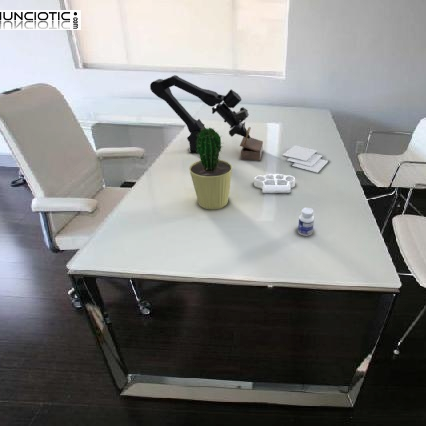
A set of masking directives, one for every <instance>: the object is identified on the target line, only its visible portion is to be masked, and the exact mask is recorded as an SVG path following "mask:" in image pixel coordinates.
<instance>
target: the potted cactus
mask: <svg viewBox="0 0 426 426" xmlns="http://www.w3.org/2000/svg"><path fill="white" fill-rule="evenodd" d="M204 127H205V129H204V128H202V129H203V130H202V131H201V133H198V134H199V136H198V140H197V143H196V144H197V147H196V148H197V151H198V153H197V152H196V153H195V154H196V155H197V154H198V155H199V158H200V160H198V161H197V160H196V161H195V162H193V163H191V164H190V166H189V169H188V170H189V173H190V174H189V175H190V177H191V181H192V185H193V188H194V191H195V195H196V198H197V203H198V204H199V206H200V208H203V209H206V210H218V209H219V210H220V209H222V208H224V207H225V206H227V204H228V202H229V196H230V187H231V180H232V172H233V165H232V164H231V163H229V162H228V161H225V160H222V159H220V158H221V155H220V153H221V151H222V148H223V147H224V146H223V145H222V144H223V142H222V136H221V135H220V134H219V131H220V130H217V131H216V130H215V129H214V128H213V127H208V128H207V127H206V125H204ZM196 135H197V134H196ZM195 142H196V141H195Z"/></svg>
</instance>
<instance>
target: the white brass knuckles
mask: <svg viewBox="0 0 426 426" xmlns="http://www.w3.org/2000/svg"><path fill="white" fill-rule="evenodd" d="M253 185H254V187H255V188H257V189H261V190H262V193H263V194H290V193H291V191H292V190H291V189H292V188H295V186H296V178H295V176H293V175H285V174H282V173H265V174H262V175H260V174H258V175H256V176H254V178H253Z"/></svg>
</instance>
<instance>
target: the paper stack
mask: <svg viewBox="0 0 426 426" xmlns="http://www.w3.org/2000/svg"><path fill="white" fill-rule="evenodd" d="M317 152H318V150H316V149H311V148H307V147H303V146H300V145H293V146H292V147H290V148H289V149H288V150H286V151H285V152H284V153H282V156H285V157H288V158H287V159H286V161H288V162H292V163H293V164H292V165H291V166H292V167H295V168H299V169H303V170H306V171H309V172H310V171H311V172H313V173H319V172H320V171H321V170H322V169H323V168H324V166H325V165H327V164H328V163H329V160H327V159H322V157H323V155H322V154H317Z"/></svg>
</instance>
